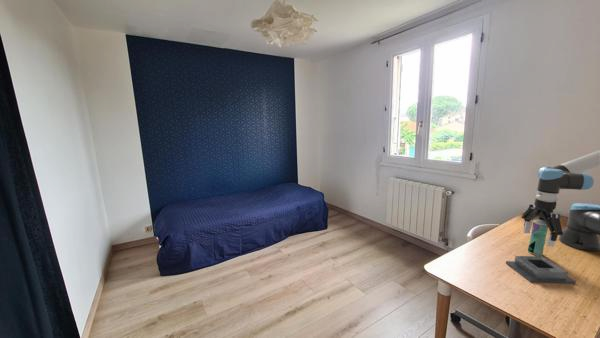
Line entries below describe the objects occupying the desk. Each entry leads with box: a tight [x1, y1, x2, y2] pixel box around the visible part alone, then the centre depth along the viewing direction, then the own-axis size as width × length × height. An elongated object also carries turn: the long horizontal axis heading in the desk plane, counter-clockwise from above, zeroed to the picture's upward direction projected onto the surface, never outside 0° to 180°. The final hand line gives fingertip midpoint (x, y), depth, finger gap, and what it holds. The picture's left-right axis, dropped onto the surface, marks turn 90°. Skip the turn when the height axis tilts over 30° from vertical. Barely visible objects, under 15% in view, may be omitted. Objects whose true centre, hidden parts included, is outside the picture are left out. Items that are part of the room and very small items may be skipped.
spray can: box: [527, 217, 549, 257], centre depth 124 cm, size 6×6×20 cm
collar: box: [505, 255, 577, 285], centre depth 110 cm, size 18×14×4 cm
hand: (537, 239), depth 125 cm, fingers open, 13 cm apart
